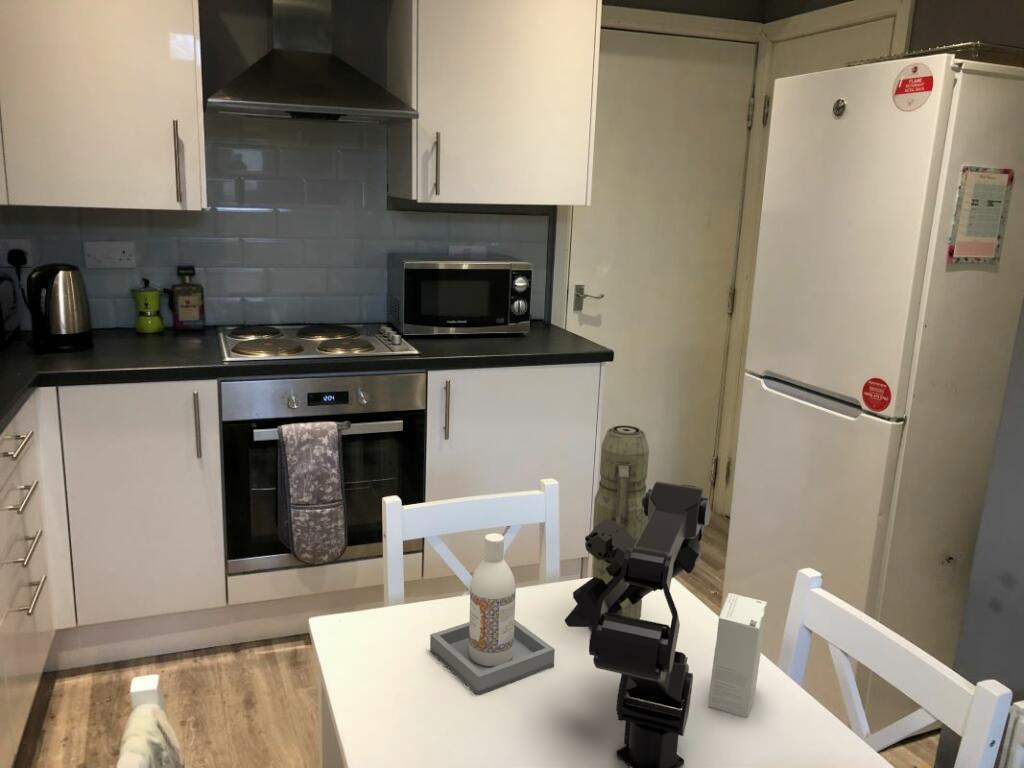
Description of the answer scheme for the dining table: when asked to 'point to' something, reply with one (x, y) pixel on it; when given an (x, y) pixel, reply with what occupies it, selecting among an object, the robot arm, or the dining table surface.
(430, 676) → the dining table surface
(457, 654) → the grey square tray
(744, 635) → the skincare box
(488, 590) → the bath foam
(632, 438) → the thermos
